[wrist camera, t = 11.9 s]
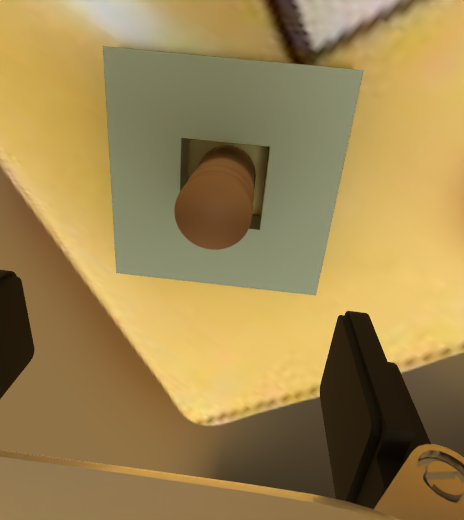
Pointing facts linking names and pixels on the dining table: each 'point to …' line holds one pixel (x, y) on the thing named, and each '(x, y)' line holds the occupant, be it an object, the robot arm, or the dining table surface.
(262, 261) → the socket board
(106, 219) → the dining table surface
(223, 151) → the walnut peg
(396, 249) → the dining table surface
